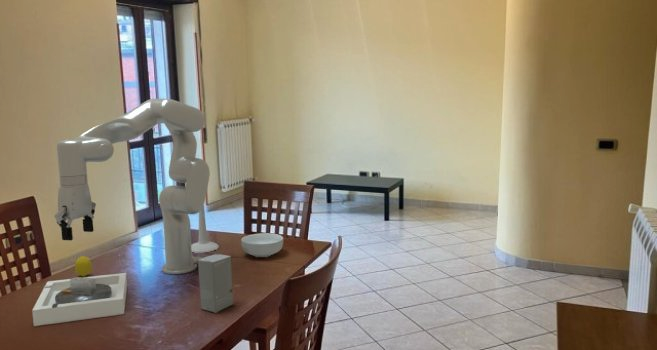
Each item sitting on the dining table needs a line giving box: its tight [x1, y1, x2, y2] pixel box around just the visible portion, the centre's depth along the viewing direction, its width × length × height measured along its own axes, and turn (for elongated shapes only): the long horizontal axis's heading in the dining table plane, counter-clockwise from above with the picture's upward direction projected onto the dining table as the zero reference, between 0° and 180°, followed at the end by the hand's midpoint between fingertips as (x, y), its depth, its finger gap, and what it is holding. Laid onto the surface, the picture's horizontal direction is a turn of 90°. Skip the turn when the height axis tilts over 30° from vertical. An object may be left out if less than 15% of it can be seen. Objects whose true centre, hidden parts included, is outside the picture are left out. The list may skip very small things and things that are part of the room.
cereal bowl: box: [240, 232, 284, 258], centre depth 211 cm, size 17×17×7 cm
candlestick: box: [191, 205, 220, 254], centre depth 218 cm, size 13×13×30 cm
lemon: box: [74, 255, 92, 278], centre depth 187 cm, size 6×6×8 cm
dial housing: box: [31, 272, 128, 327], centre depth 163 cm, size 24×24×5 cm
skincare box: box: [197, 253, 234, 314], centre depth 160 cm, size 8×7×16 cm
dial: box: [55, 276, 112, 304], centre depth 163 cm, size 16×16×6 cm
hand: (78, 235), depth 160 cm, fingers open, 9 cm apart
